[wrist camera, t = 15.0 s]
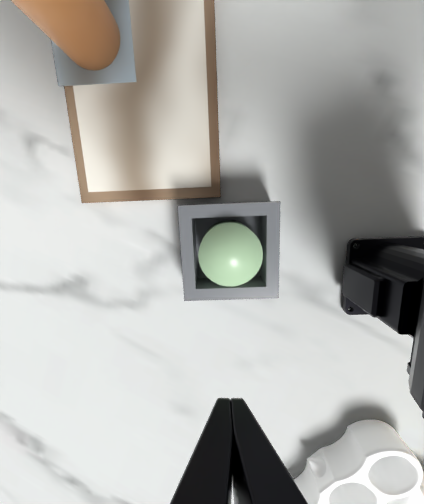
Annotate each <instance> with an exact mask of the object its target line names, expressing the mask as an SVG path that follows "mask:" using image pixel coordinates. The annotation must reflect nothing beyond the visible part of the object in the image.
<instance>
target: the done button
mask: <svg viewBox="0 0 424 504" xmlns="http://www.w3.org/2000/svg"><path fill="white" fill-rule="evenodd" d="M198 258H199V264H200V267H201V269H202V271H203V272H204V274H205V275H206V276H207V277H208V278H209V279H210V280H211V281H213V282H215V283H217V284H219V285H222V286H231V287H232V286H238V285H242V284H244V283H246V282H248V281H249V280H251V279H252V278H253V277H254V276H255V275H256V274H257V272H258V271H259V269H260V267H261V264H262V260H263V250H262V246H261V243H260V241H259V239H258V238H257V236H256V235H255V234H254V233H253V232H252V231H251V230H250V229H249V228H248V227H246V226H245V225H244V224H242V223H240V222H237V221H233V220H225V221H220V222H218V223H216V224H214V225H213V226H211V227H210V228H209V229H208V230H207V231H206V233H205V235H204V237H203V239H202V242H201V244H200V247H199V253H198Z"/></svg>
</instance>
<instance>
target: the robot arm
mask: <svg viewBox="0 0 424 504" xmlns="http://www.w3.org/2000/svg"><path fill="white" fill-rule="evenodd" d="M355 243H357V246H356V247H355V248H354V247H353V245H354V244H355ZM342 294H343V295H344V296H343V310H344V312H346V313H347V314H349V315H360V314H370V315H371V316H372V317H377V318H378V319H380V320H381V321H382V322H384V323H385V324H386V325H388V326H389V327H391V328H392V329H393V330H395V331H396V332H397V333H399V334H408V335H409V336H411V337H412V338H414V340H413V347H412V353H411V360H410V362H409V363H408V366H407V372H408V374H409V375H410V376H409V387H410V393H411V395H412V396H413V398H414V400H415V401H416V403H417V404H418V406H419V407H420V409H421V410H422V411H423V413H422V417H423V418H424V236H417V237H389V238H362V239H352V240H350V241H349V242H348V245H347V258H346V264H345V266H344V273H343V286H342ZM349 307H351V309H350V310H348V308H349ZM232 486H233V495H234V503H235V504H308V503H307V501H306V500H305V498H304V496H303V495H302V493H301V491H300V490H299V488H298V487H297V485H296V483H295V482H294V480H293V478H292V477H291V475H290V474H289V472H288V470H287V469H286V467H285V466H284V464H283V462H282V461H281V459H280V457H279V456H278V454H277V453H276V451H275V449H274V448H273V446H272V445H271V443H270V441H269V440H268V438H267V436H266V435H265V433H264V432H263V430H262V428H261V427H260V425H259V424H258V422H257V420H256V419H255V417H254V415H253V414H252V412H251V411H250V409H249V407H248V406H247V404H246V403H245V401H244V400H243V399H242V398H232V399H231V400H230V399H229V398H218V399H217V401H216V403H215V405H214V407H213V409H212V412H211V414H210V416H209V418H208V421H207V423H206V425H205V427H204V429H203V432H202V434H201V436H200V438H199V440H198V443H197V445H196V447H195V449H194V452H193V454H192V456H191V458H190V460H189V463H188V465H187V467H186V469H185V471H184V474H183V476H182V478H181V480H180V483H179V485H178V487H177V489H176V491H175V494H174V496H173V498H172V500H171V503H170V504H231V493H232Z"/></svg>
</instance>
